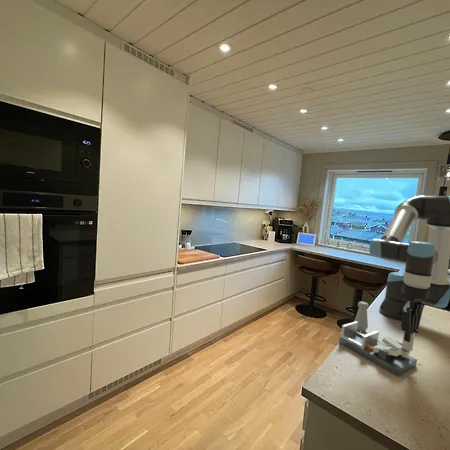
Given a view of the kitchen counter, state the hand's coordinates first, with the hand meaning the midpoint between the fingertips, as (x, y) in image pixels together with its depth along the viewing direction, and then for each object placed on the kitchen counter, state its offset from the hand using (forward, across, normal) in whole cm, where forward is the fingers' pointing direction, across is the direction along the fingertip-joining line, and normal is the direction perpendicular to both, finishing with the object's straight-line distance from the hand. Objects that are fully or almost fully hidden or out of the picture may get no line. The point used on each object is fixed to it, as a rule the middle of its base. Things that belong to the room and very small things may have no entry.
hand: (407, 349), depth 91 cm
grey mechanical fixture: (+6, +4, -9) cm, 11 cm away
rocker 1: (+1, +6, -4) cm, 8 cm away
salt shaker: (+6, -10, -23) cm, 26 cm away
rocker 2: (+1, 0, -4) cm, 4 cm away
